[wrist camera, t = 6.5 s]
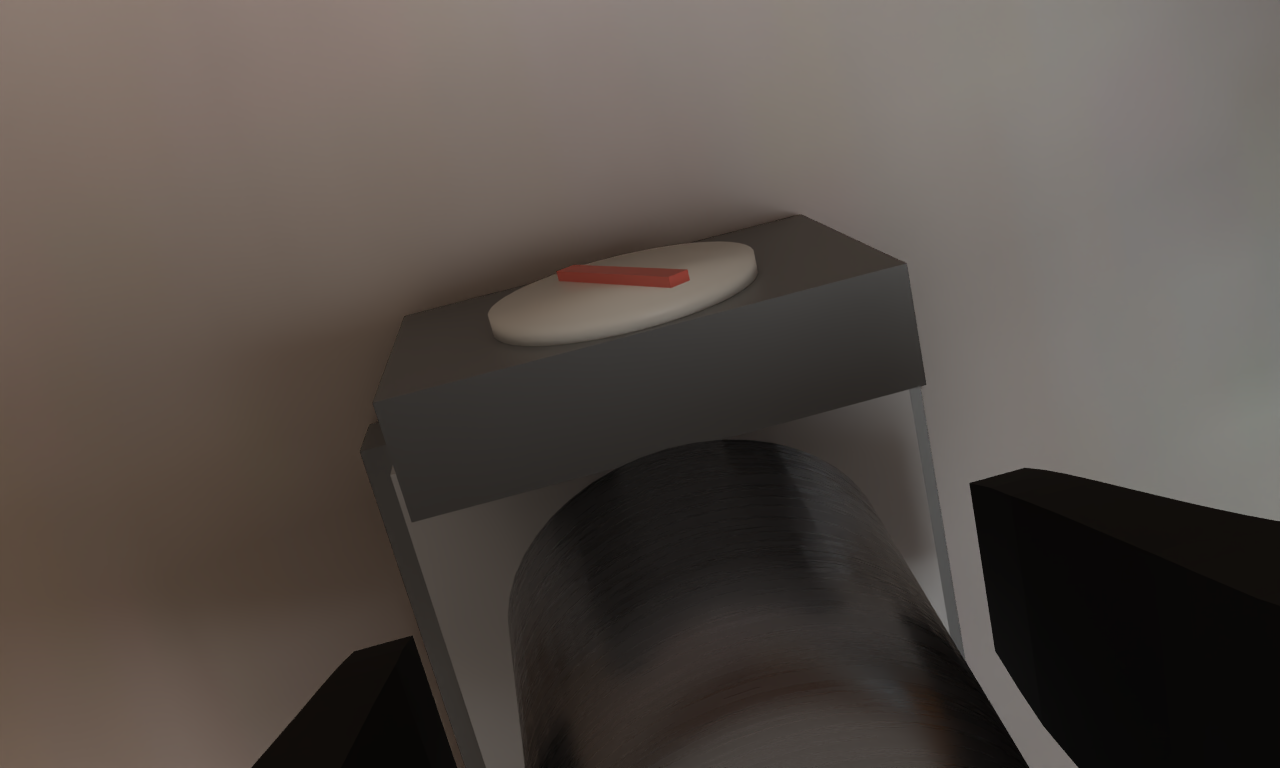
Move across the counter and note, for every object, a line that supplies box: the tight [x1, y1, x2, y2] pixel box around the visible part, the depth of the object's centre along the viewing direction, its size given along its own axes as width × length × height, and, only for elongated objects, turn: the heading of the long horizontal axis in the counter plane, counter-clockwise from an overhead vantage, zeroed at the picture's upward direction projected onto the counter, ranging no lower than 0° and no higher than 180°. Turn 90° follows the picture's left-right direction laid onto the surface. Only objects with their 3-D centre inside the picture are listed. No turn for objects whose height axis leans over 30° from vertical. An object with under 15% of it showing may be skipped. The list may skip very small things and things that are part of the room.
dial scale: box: [360, 214, 965, 768], centre depth 13 cm, size 11×7×4 cm, turn 13°
